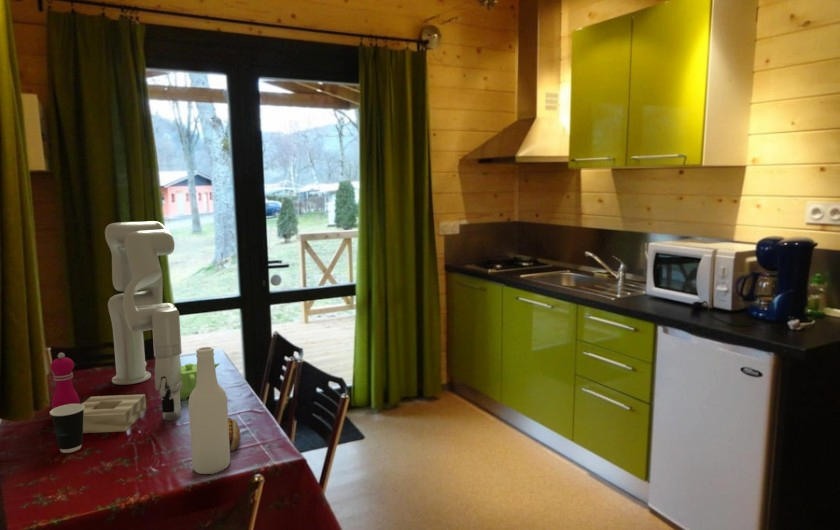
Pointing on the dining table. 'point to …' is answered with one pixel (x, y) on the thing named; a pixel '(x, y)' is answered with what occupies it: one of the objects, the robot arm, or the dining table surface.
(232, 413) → the dining table surface
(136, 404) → the block
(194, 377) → the teapot
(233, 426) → the food
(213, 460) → the alcohol
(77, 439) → the dixie cup
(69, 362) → the pepper mill
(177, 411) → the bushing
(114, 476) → the dining table surface
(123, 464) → the dining table surface
